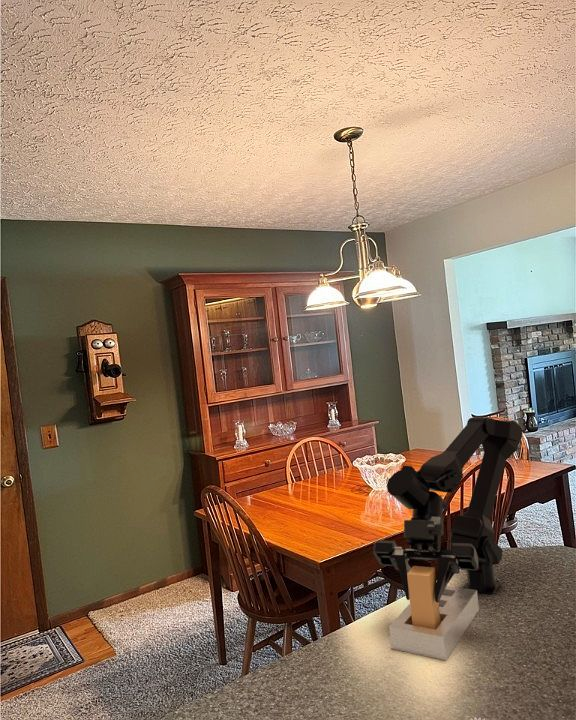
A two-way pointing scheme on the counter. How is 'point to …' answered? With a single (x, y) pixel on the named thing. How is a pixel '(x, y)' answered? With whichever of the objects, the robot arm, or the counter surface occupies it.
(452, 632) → the white peg board
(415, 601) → the orange post
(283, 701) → the counter surface
